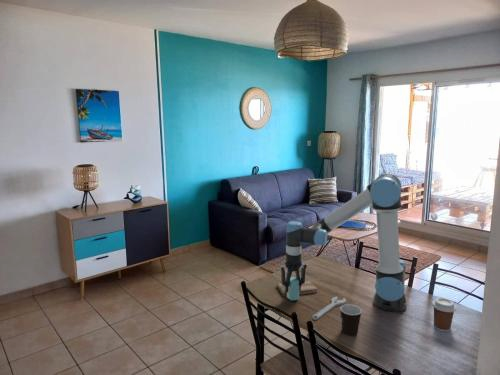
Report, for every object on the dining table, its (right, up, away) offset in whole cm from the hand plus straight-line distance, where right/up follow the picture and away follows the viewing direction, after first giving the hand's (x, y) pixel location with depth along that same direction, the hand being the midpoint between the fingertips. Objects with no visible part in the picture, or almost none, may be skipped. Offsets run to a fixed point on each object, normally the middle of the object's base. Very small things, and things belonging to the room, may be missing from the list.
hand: (292, 297), depth 183 cm
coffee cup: (+61, -6, -25) cm, 67 cm away
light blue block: (-1, 0, +3) cm, 3 cm away
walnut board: (+3, +1, +11) cm, 11 cm away
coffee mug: (+22, -6, -26) cm, 35 cm away
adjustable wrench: (+16, -3, -9) cm, 18 cm away
